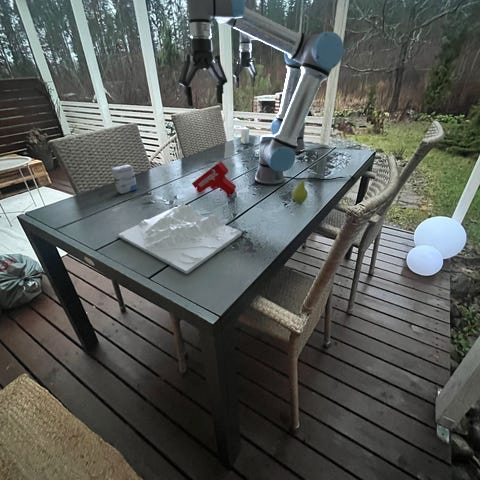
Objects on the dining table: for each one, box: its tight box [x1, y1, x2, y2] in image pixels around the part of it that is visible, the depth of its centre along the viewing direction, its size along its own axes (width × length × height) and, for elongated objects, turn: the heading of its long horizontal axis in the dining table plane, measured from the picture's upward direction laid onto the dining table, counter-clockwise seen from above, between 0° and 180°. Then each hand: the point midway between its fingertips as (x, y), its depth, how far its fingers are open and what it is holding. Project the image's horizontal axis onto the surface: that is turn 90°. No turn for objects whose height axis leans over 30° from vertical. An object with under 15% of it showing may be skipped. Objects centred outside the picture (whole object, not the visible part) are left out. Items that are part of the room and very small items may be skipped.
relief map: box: [117, 202, 243, 275], centre depth 96 cm, size 27×35×5 cm
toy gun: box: [191, 161, 237, 197], centre depth 128 cm, size 18×4×15 cm
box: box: [240, 127, 250, 145], centre depth 212 cm, size 5×4×11 cm
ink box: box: [110, 164, 138, 195], centre depth 131 cm, size 8×5×12 cm, turn 135°
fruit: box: [291, 174, 311, 204], centre depth 118 cm, size 7×8×12 cm
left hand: (205, 104), depth 109 cm, fingers open, 13 cm apart
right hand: (245, 87), depth 194 cm, fingers open, 13 cm apart
